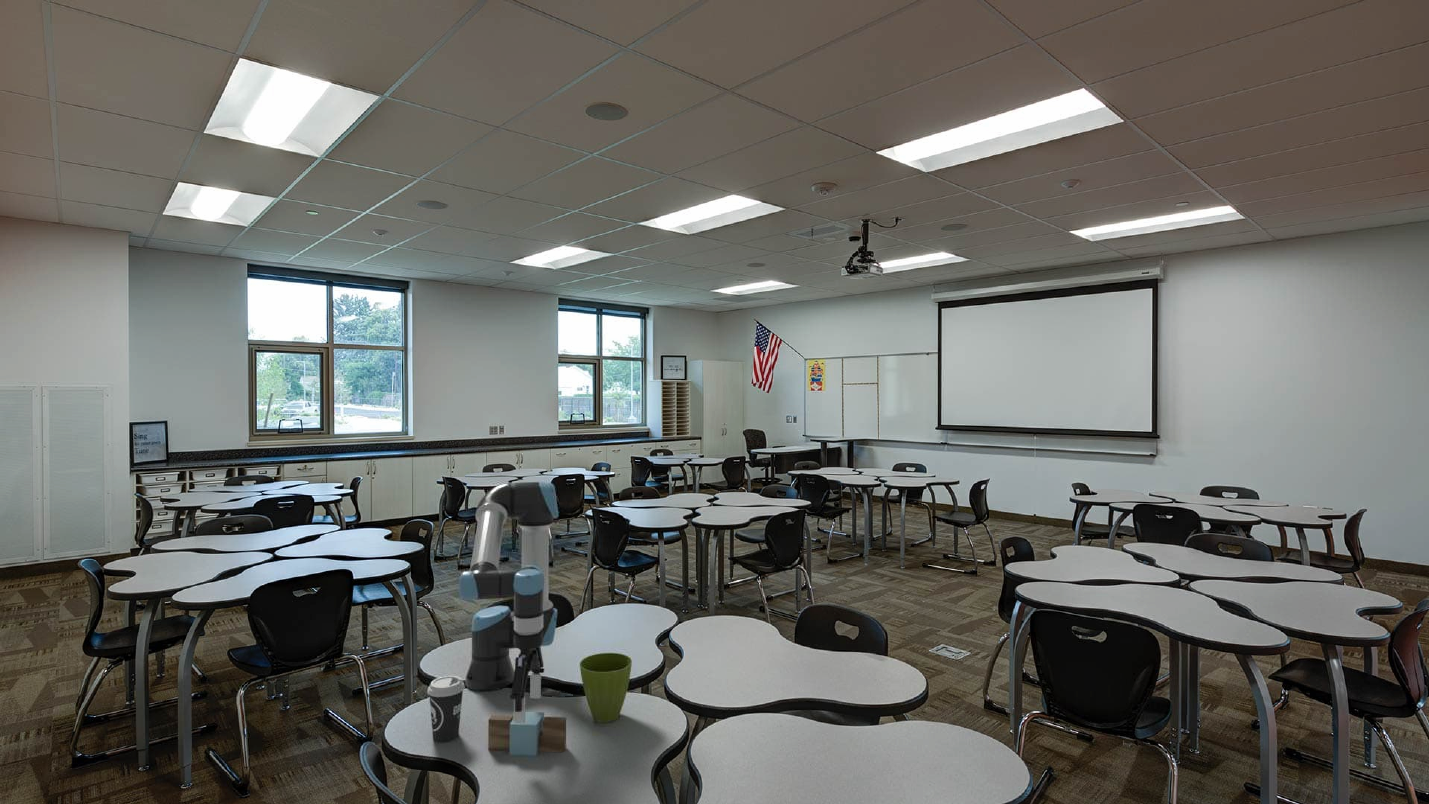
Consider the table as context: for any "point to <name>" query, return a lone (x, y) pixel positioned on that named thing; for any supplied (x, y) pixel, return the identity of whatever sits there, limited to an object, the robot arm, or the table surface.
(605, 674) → the flower pot
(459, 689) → the coffee cup
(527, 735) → the teal notched block
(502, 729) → the walnut slotted plate
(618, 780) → the table surface
